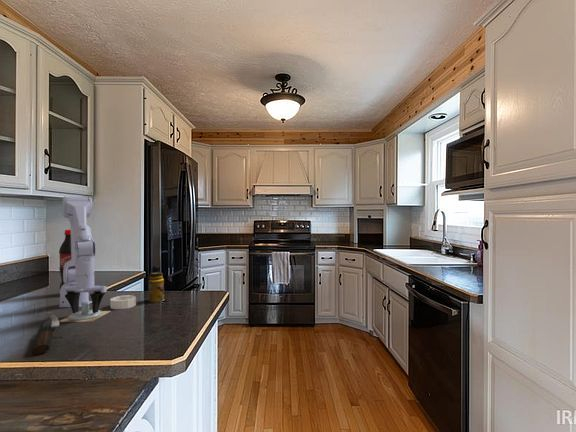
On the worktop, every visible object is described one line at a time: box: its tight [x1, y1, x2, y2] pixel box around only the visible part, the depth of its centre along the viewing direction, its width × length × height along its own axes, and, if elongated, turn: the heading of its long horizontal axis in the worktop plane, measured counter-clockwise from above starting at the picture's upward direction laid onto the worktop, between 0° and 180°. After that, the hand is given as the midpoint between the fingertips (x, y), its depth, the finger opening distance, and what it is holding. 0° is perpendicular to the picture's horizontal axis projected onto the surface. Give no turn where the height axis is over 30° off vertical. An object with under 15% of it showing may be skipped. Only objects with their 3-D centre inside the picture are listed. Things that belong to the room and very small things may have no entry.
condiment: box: [148, 271, 165, 303], centre depth 140 cm, size 7×8×12 cm
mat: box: [59, 310, 112, 323], centre depth 119 cm, size 12×12×1 cm
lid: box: [69, 302, 103, 320], centre depth 119 cm, size 10×10×5 cm
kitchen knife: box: [32, 314, 60, 355], centre depth 103 cm, size 36×2×5 cm
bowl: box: [109, 294, 137, 310], centre depth 132 cm, size 9×9×4 cm
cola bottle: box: [58, 229, 76, 290], centre depth 155 cm, size 8×8×30 cm
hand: (85, 312), depth 119 cm, fingers open, 7 cm apart
